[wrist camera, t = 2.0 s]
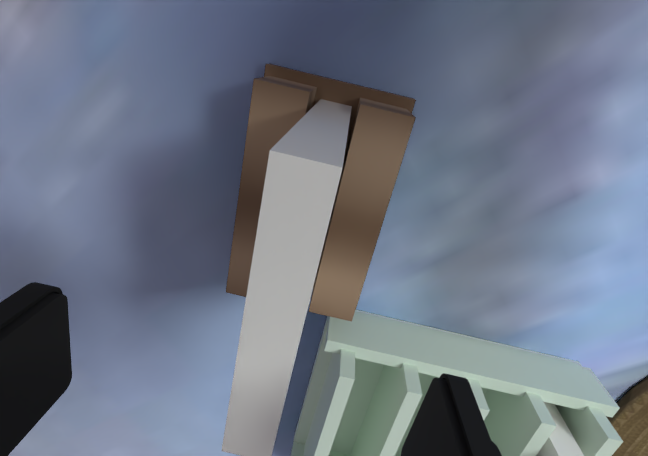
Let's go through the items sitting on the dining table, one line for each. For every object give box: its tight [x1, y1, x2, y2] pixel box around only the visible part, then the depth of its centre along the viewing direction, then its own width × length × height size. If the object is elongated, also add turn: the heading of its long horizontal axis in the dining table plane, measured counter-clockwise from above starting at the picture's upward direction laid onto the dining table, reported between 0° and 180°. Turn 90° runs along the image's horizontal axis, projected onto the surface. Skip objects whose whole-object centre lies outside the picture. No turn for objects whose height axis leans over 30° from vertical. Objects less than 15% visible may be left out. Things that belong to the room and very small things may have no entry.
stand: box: [226, 64, 416, 322], centre depth 20 cm, size 12×8×4 cm, turn 168°
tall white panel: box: [222, 99, 352, 456], centre depth 16 cm, size 10×2×12 cm, turn 168°
